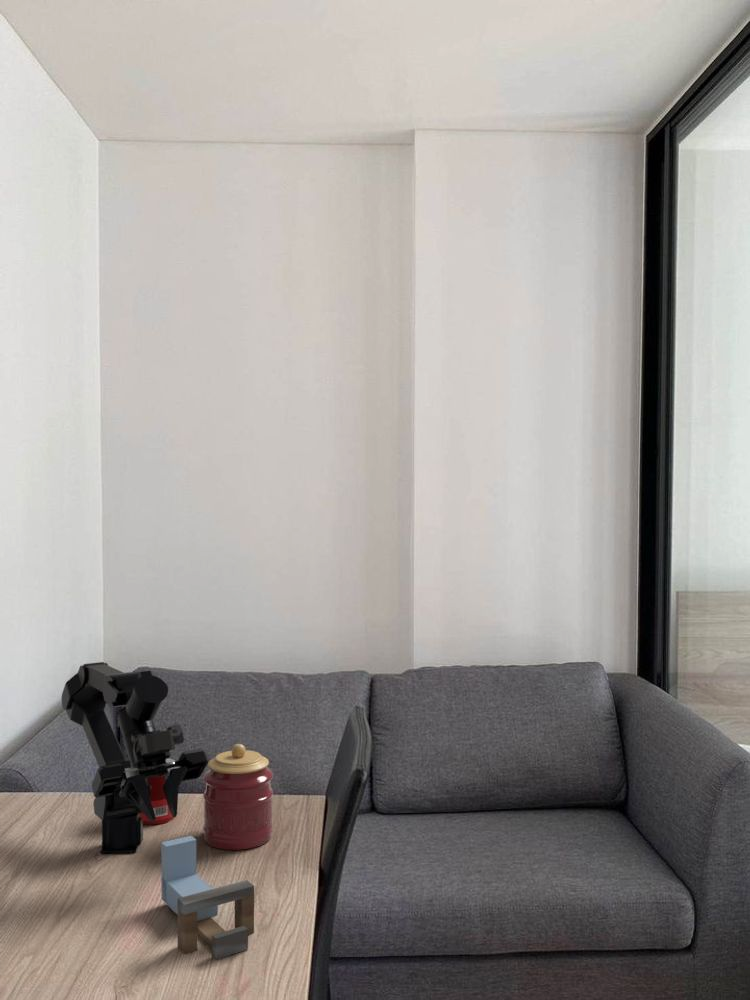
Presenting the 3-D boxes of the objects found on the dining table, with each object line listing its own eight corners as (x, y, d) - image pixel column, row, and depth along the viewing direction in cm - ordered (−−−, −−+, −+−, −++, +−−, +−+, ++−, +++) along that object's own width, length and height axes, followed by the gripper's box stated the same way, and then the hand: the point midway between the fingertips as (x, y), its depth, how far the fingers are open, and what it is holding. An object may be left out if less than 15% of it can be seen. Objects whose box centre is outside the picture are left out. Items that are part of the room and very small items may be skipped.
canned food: (183, 813, 186) (183, 759, 186) (161, 827, 178) (161, 771, 178) (150, 809, 188) (150, 755, 188) (127, 822, 181) (127, 766, 181)
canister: (285, 841, 172) (285, 747, 172) (221, 857, 165) (221, 758, 164) (253, 820, 183) (253, 731, 182) (192, 834, 175) (192, 741, 175)
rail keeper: (147, 914, 143) (147, 869, 143) (213, 896, 149) (213, 853, 149) (195, 966, 128) (195, 915, 128) (266, 943, 134) (266, 896, 134)
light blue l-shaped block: (161, 898, 146) (161, 842, 146) (191, 891, 149) (191, 835, 149) (186, 924, 138) (186, 864, 138) (217, 915, 141) (217, 856, 141)
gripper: (97, 717, 150) (120, 805, 141) (204, 702, 161) (232, 783, 152) (82, 754, 157) (103, 839, 148) (186, 737, 168) (211, 816, 159)
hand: (164, 818), depth 152 cm, fingers open, 3 cm apart
